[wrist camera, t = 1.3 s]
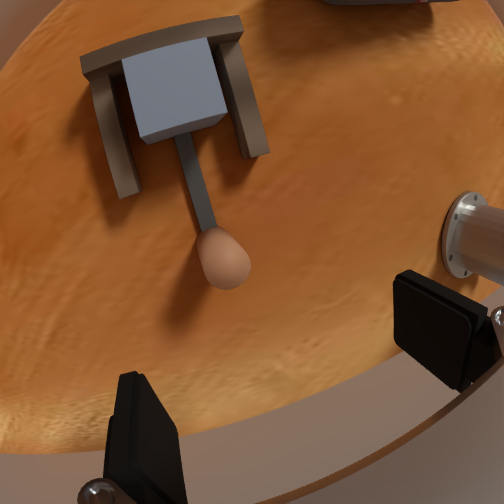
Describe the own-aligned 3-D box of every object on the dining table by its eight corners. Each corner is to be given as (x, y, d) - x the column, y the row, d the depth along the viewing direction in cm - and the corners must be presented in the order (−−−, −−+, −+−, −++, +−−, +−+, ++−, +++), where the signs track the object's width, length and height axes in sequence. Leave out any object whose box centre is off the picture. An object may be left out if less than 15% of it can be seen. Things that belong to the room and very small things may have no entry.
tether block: (249, 249, 28) (274, 274, 22) (187, 270, 27) (193, 302, 21) (198, 64, 23) (208, 31, 16) (131, 82, 22) (119, 54, 15)
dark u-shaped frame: (259, 154, 26) (278, 151, 21) (125, 196, 24) (114, 202, 19) (226, 38, 22) (238, 15, 18) (94, 75, 20) (79, 56, 16)
